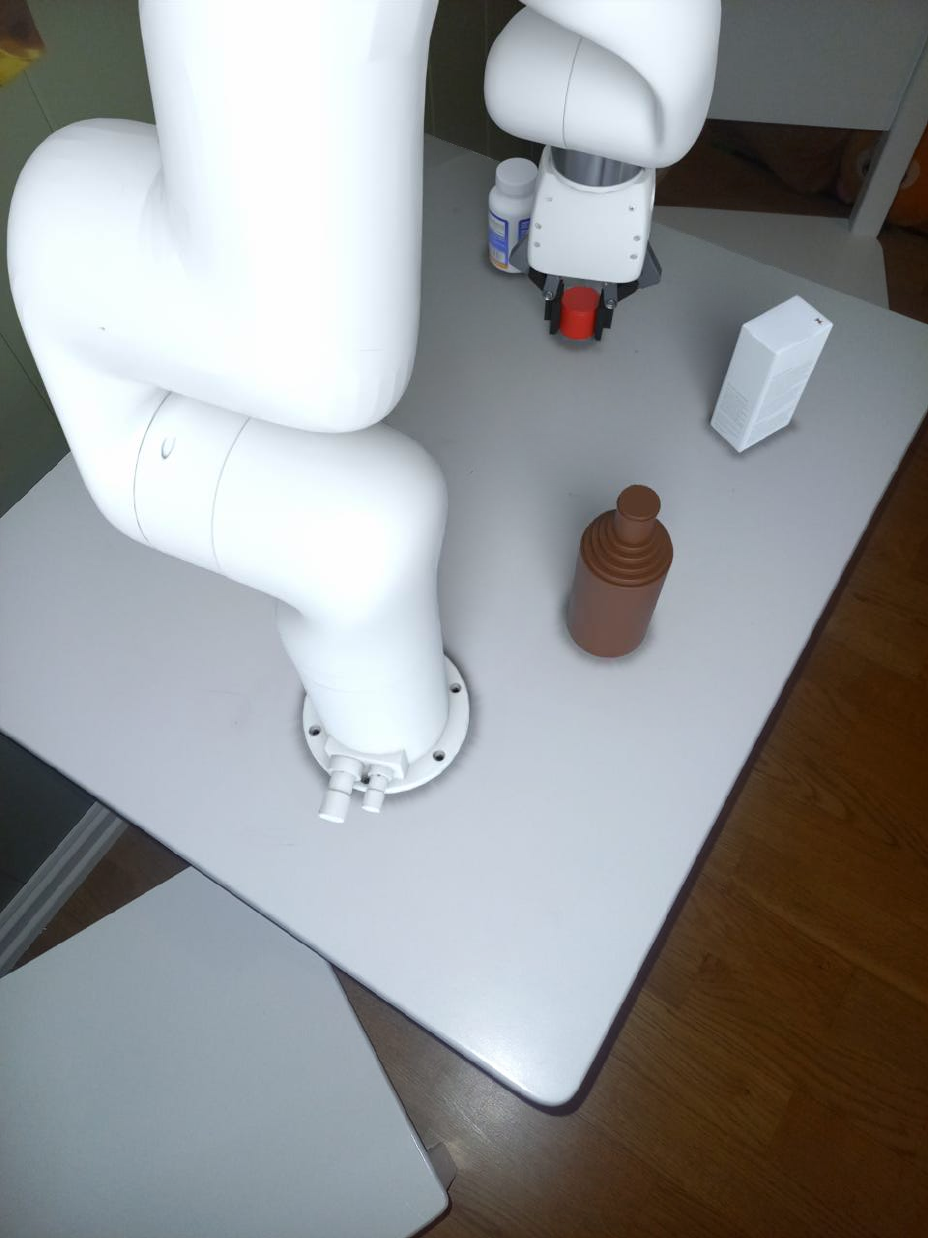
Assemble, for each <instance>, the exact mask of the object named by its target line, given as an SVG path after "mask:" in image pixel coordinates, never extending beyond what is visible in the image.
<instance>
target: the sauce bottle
mask: <svg viewBox="0 0 928 1238" xmlns="http://www.w3.org/2000/svg"><path fill="white" fill-rule="evenodd" d="M615 503H616V504H615V506H616V508H612V509H609V510H605V511H604V512H602V513H600V514H598V515H597V516H596V517H595V518H594V519H593V520H592V521H591V522H590V523H588V525H587V526H586V527H585V529H584V531H583V532H582V535H581V538H580V541H579V546H578V553H577V557H576V563H575V570H574V575H573V580H572V587H571V592H570V598H569V603H568V608H567V614H566V625H567V630H568V633H569V635H570V637H571V638H572V640H573V642H574V643H575V644H576V645H577V646H578V647H579V648H581V649H582V650H583V651H585V652H586V653H589V654H590V655H593V656H595V657H600V658H604V659H605V658H607V659H613V658H619V657H623V656H626V655H628V654H630V653H631V652H633V651H635V650H636V649H638V648H639V646H640V645H641V644H642V642H643V640H644V639H645V636H646V634H647V632H648V628H649V626H650V624H651V620H652V617H653V615H654V612H655V611H656V607H657V604H658V601H659V599H660V596H661V593H662V591H663V588H664V586H665V582H666V581H667V577H668V574H669V572H670V569H671V567H672V563H673V560H674V545H673V542H672V539H671V535H670V533H669V531H668V529H667V528H666V527H665V525H664V524H663V523H662V522H661V521H660V520H659V519H658V518H657V516H658V515H659V514H660V511H661V508H662V501H661V498H660V496H659V495H658V493H657V492H656V491H655V490H654V489H653V488H651V487H649V486H647V485H643V484H635V483H634V484H631V485H629V486H628V487H625V488H624V489H623V490H622V491H621V492H620V493H619V495H618V496H617V499H616V501H615Z"/></svg>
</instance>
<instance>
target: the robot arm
mask: <svg viewBox="0 0 928 1238" xmlns="http://www.w3.org/2000/svg"><path fill="white" fill-rule="evenodd" d="M439 1H440V0H138V16H139V25H140V32H141V38H142V46H143V51H144V52H143V53H144V57H145V58H144V59H145V64H146V70H147V77H148V82H149V88H150V95H151V101H152V106H153V113H154V121H155V124H153V123H148V122H144V121H138V120H134V119H129V118H111V117H96V118H95V117H94V118H88V119H83V120H79V121H75V122H72V123H70V124H68V125H65V126H63V127H61V128H59V129H57V130H56V131H54V132H52V133H51V134H50V135H49V136H47V137H46V138H45V139H44V140H43V141H42V142H41V143H40V144H39V145H38V146H37V147H36V148H35V149H34V150H33V152H32V153H31V154H30V155H29V158H28V159H27V160H26V162H25V164H24V166H23V168H22V169H21V171H20V173H19V175H18V178H17V180H16V184H15V185H14V190H13V194H12V196H11V200H10V206H9V212H8V218H7V226H6V227H7V228H6V264H7V272H8V281H9V287H10V292H11V295H12V299H13V304H14V307H15V310H16V314H17V318H18V319H19V322H20V325H21V328H22V331H23V333H24V337H25V339H26V343H27V345H28V347H29V350H30V352H31V355H32V357H33V361H34V362H35V365H36V368H37V370H38V372H39V375H40V377H41V379H42V382H43V385H44V387H45V390H46V392H47V395H48V398H49V399H50V402H51V405H52V407H53V410H54V412H55V415H56V417H57V420H58V422H59V424H60V428H61V430H62V433H63V435H64V437H65V439H66V442H67V445H68V447H69V449H70V452H71V454H72V457H73V459H74V462H75V464H76V466H77V469H78V471H79V474H80V476H81V478H82V481H83V483H84V485H85V488H86V490H87V492H88V493H89V495H90V497H91V499H92V501H93V502H94V504H95V505H96V507H97V508H98V510H99V511H100V513H101V514H102V515H103V516H104V518H105V519H106V520H107V521H108V522H109V523H110V524H111V525H112V526H113V527H114V528H115V529H116V530H118V531H119V532H121V533H122V534H123V535H125V536H126V537H128V538H130V539H132V540H134V541H135V542H138V543H140V544H142V545H144V546H147V547H148V548H151V549H153V550H156V551H159V552H161V553H163V554H166V555H169V556H171V557H173V558H177V559H179V560H182V561H184V562H187V563H190V564H192V565H195V566H197V567H200V568H202V569H206V570H208V571H211V572H214V573H216V574H219V575H221V576H225V577H227V579H229V580H231V581H234V582H236V583H238V584H241V585H244V586H247V587H250V588H251V589H255V590H257V591H259V592H262V593H264V594H267V595H269V596H272V597H274V598H276V601H275V608H274V609H275V610H274V616H275V625H276V629H277V634H278V636H279V639H280V641H281V643H282V646H283V648H284V651H285V652H286V654H287V656H288V658H289V660H290V661H291V663H292V666H293V668H294V669H295V671H296V674H297V676H298V678H299V680H300V682H301V684H302V686H303V688H304V690H305V696H304V700H303V708H302V725H303V732H304V733H303V734H304V736H305V739H306V742H307V745H308V747H309V750H310V751H311V753H312V755H313V757H314V758H315V759H316V761H317V763H318V764H319V766H320V767H321V768H322V769H323V770H324V771H325V772H326V773H327V774H328V775H329V776H330V779H329V781H328V782H329V783H328V786H327V789H326V790H325V791H324V792H323V796H322V799H321V803H320V806H319V809H318V813H317V816H318V818H321V819H322V820H325V821H327V822H332V823H337V824H345V822H346V819H347V815H348V812H349V808H350V804H351V802H352V801H351V800H352V798H353V797H352V796H351V795H352V793H353V789H354V790H356V791H359V792H363V793H365V794H364V796H363V799H362V803H361V809H363V810H364V811H367V812H370V813H376V814H377V813H378V814H379V813H381V811H382V807H383V803H384V801H385V797H386V795H388V794H389V795H390V794H398V793H401V792H407V791H411V790H413V789H416V788H418V787H421V786H422V785H425V784H427V783H428V782H430V781H432V779H435V777H437V776H439V775H441V773H442V772H443V771H444V770H445V769H446V768H447V767H448V766H449V765H450V764H451V763H452V762H453V760H455V757H457V755H458V754H459V752H460V751H461V748H462V746H463V743H464V741H465V739H466V737H467V733H468V730H469V729H468V728H469V725H470V700H469V699H470V698H469V693H468V690H467V686H466V682H465V680H464V678H463V676H462V674H461V673H460V671H459V669H458V668H457V666H456V665H455V663H453V661H452V660H451V659H450V658H449V657H448V656H447V655H446V654H444V648H443V638H442V637H443V636H442V627H441V618H440V610H439V599H438V587H437V585H438V584H437V583H438V581H437V580H438V566H439V560H440V555H441V550H442V546H443V542H444V541H443V540H444V536H445V531H446V526H447V519H448V513H449V511H448V510H449V495H448V494H449V491H448V484H447V480H446V478H445V477H446V476H445V474H444V471H443V469H442V467H441V465H440V464H439V462H438V460H437V459H436V458H435V457H434V456H433V454H432V453H431V452H429V450H428V449H426V448H425V446H424V445H422V444H421V443H419V442H418V441H417V440H415V439H414V438H413V437H410V436H408V435H407V434H406V433H403V432H402V431H399V430H398V429H397V428H394V427H392V426H390V425H387V424H385V423H383V422H380V421H382V419H384V418H386V417H387V416H388V415H390V414H391V412H392V411H393V410H394V409H395V407H396V406H397V405H398V403H399V401H401V399H402V397H403V396H404V394H405V392H406V390H407V388H408V385H409V383H410V381H411V379H412V373H413V370H414V366H415V365H414V364H415V359H416V354H417V348H418V339H419V332H420V321H421V319H420V316H421V298H422V296H421V293H422V290H421V289H422V258H423V257H422V255H423V252H422V250H423V244H422V243H423V204H424V203H423V200H424V199H423V197H424V194H423V193H424V131H425V108H426V107H425V106H426V87H427V86H426V85H427V74H428V73H427V72H428V71H427V70H428V61H429V52H430V50H429V49H430V43H431V42H430V41H431V36H432V33H433V32H432V31H433V28H434V23H435V19H436V14H437V10H438V6H439ZM518 1H519V2H520V3H522V4H523V5H525V6H524V7H523V8H522V9H520V10H519V11H518V12H517V13H516V14H515V15H514V16H513V17H512V18H511V19H510V20H509V21H508V23H506V25H505V26H504V28H503V29H502V30H501V32H500V33H499V34H498V35H497V36H496V38H495V40H494V41H493V43H492V45H491V48H490V50H489V52H488V56H487V60H486V64H485V70H484V81H483V82H484V83H483V96H484V97H483V98H484V102H485V103H484V104H485V107H486V110H487V112H488V115H489V116H490V119H491V120H492V121H493V122H494V123H495V125H496V126H497V127H498V128H500V129H501V130H502V131H504V132H505V133H507V134H509V135H511V136H514V137H516V138H519V139H522V140H526V141H530V142H534V143H539V144H542V145H545V146H544V147H543V150H542V153H541V156H540V160H539V164H538V167H537V169H538V173H537V178H536V184H535V190H534V196H533V203H532V210H531V218H530V227H529V229H528V230H527V232H526V233H525V234H524V235H523V236H522V238H521V239H520V240H519V241H518V243H517V244H516V245H515V246H514V248H513V249H512V251H511V254H510V257H509V263H510V264H511V265H512V266H514V267H515V268H517V269H518V270H520V271H521V273H522V274H525V275H527V277H528V279H529V280H530V281H531V282H532V283H533V284H534V285H535V286H536V287H537V288H538V289H539V290H540V291H541V293H542V294H541V296H542V298H543V299H544V300H545V304H544V316H543V317H544V318H543V320H544V321H550V322H549V335H552V336H555V335H556V334H558V332H559V321H560V312H561V302H562V298H563V294H564V291H565V283H564V279H561V278H562V277H568V278H575V279H583V280H589V281H590V280H591V281H598V282H603V283H602V284H603V286H602V287H603V288H601V291H600V301H599V305H598V311H597V318H596V325H595V332H594V335H593V340H594V341H596V342H601V341H602V336H603V331H604V329H607V330H610V329H611V327H612V322H613V316H614V310H615V309H616V308H617V306H618V303H620V302H621V301H623V300H625V299H626V298H628V297H630V296H632V295H633V294H635V293H636V292H637V291H638V290H640V289H641V290H642V289H646V288H648V287H652V286H655V285H658V284H659V283H660V282H661V279H662V272H663V268H662V267H661V263H660V262H659V260H658V258H657V255H656V254H655V251H654V250H653V247H652V245H651V242H650V241H649V240H650V239H649V238H650V233H651V228H652V227H651V226H652V219H653V211H654V203H655V196H656V195H655V194H656V175H657V174H656V173H657V172H656V169H662V168H668V167H670V166H673V165H674V164H676V163H677V162H679V161H681V160H682V159H683V158H684V157H685V156H686V155H687V154H688V153H689V151H691V149H692V147H693V146H694V145H695V143H696V141H697V139H698V138H699V136H700V134H701V132H702V129H703V127H704V124H705V122H706V119H707V116H708V112H709V109H710V105H711V101H712V97H713V92H714V87H715V81H716V72H717V64H718V54H719V43H720V35H721V27H722V26H721V23H722V0H518ZM455 690H457V691H458V692H454V691H455ZM316 732H319V733H318V734H315V733H316ZM438 757H440V758H442V760H437V759H438ZM366 780H369V781H368V783H366Z"/></svg>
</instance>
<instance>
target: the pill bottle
mask: <svg viewBox="0 0 928 1238" xmlns="http://www.w3.org/2000/svg"><path fill="white" fill-rule="evenodd" d="M537 173H538V167H537V165H536V163H534V162H533V161H531V160H529V159H527V158H523V157H511V158H508V159H505V160H503V161H502V162H500V163H499V164H498V166H497V167H496V170H495V180H494V183H495V185H494V186H493V187H492V188H491V189H490V191H489V195H488V254H489V260H490V262H491V264H492V265H493V266H494V267H495V268H496V269H498V270H499V271H502V272H506V273H509V274H521V273H522V272H521V271H520V270H518V269H517V268H515V267H514V266H512V265H511V264H510V263H509V257H510V254H511V251H512V249H513V248H514V246H515V245H516V244H517V243H518V241H519V240H520V239H521V238H522V236H523V235H524V234H525V233H526V232H527V230H528V229H529V227H530V218H531V210H532V203H533V196H534V190H535V184H536V178H537Z"/></svg>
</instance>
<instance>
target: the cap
mask: <svg viewBox="0 0 928 1238" xmlns="http://www.w3.org/2000/svg"><path fill="white" fill-rule="evenodd" d="M600 296H601V294H600V293H599V292H598V291H597V290H595V289H594V288H591V287H589V286H585V285H576V286H572V287H569V288H567V289H565V290H564V294H563V298H562V302H561V312H560V321H559V328H558V331H559V332H560V334H562V335H563V336H564V337H566V338H568V339H571V340H579V341H580V340H587V339H589V338H592V337H594V332H595V325H596V318H597V311H598V305H599V301H600Z"/></svg>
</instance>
